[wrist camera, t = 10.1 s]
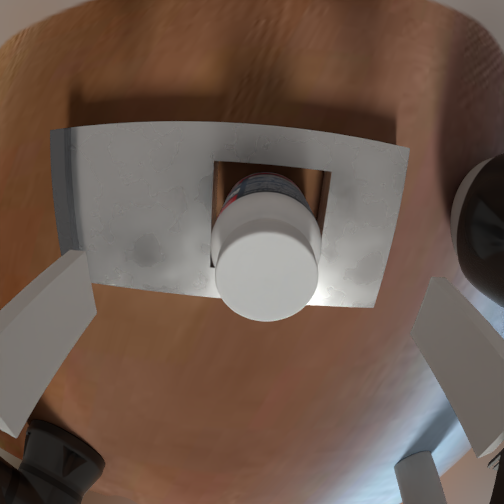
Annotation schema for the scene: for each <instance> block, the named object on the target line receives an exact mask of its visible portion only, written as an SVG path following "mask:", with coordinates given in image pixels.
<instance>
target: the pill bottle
mask: <svg viewBox="0 0 504 504" xmlns="http://www.w3.org/2000/svg"><path fill="white" fill-rule="evenodd" d="M210 248H211V257H212V261H213V264H214V266H215V283H216V287H217V290H218V292H219V294H220V296H221V298H222V300H223V301H224V302H225V303H226V305H227V306H228V307H229V308H231V309H232V310H233V311H234V312H236V313H238V314H239V315H241V316H243V317H246V318H249V319H252V320H257V321H276V320H281V319H284V318H287V317H290V316H292V315H294V314H295V313H297V312H298V311H300V310H301V309H302V308H304V307H305V306H306V305H307V304H308V302H309V301H310V300H311V298H312V297H313V295H314V293H315V291H316V288H317V284H318V264H319V261H320V257H321V249H322V239H321V234H320V229H319V226H318V224H317V221H316V219H315V217H314V215H313V213H312V211H311V209H310V207H309V205H308V203H307V201H306V199H305V197H304V195H303V194H302V192H301V190H300V189H299V188H298V187H297V185H296V184H295V183H294V182H292V181H291V180H290V179H288V178H286V177H285V176H282V175H280V174H277V173H272V172H259V173H254V174H251V175H249V176H246V177H245V178H243V179H241V180H240V181H239V182H237V183H236V184H235V185H234V187H233V188H232V189H231V191H230V192H229V194H228V196H227V198H226V200H225V202H224V205H223V207H222V209H221V211H220V214H219V215H218V217H217V220H216V222H215V224H214V227H213V230H212V234H211V241H210Z"/></svg>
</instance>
